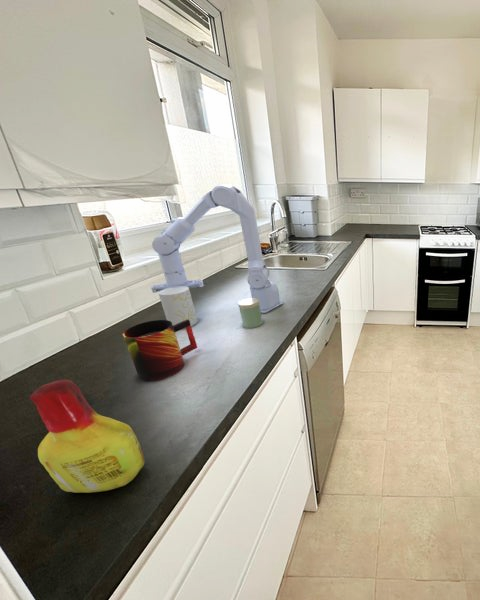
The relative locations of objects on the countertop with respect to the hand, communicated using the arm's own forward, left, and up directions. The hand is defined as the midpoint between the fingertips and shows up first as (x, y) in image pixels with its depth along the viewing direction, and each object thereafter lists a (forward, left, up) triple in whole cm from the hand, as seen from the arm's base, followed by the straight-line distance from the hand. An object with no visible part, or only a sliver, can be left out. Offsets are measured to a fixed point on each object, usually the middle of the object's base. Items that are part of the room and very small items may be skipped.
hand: (184, 308), depth 110 cm
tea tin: (-3, +27, -3) cm, 27 cm away
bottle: (+51, +48, -3) cm, 70 cm away
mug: (+24, +24, -3) cm, 34 cm away
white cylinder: (+5, +5, -3) cm, 8 cm away
